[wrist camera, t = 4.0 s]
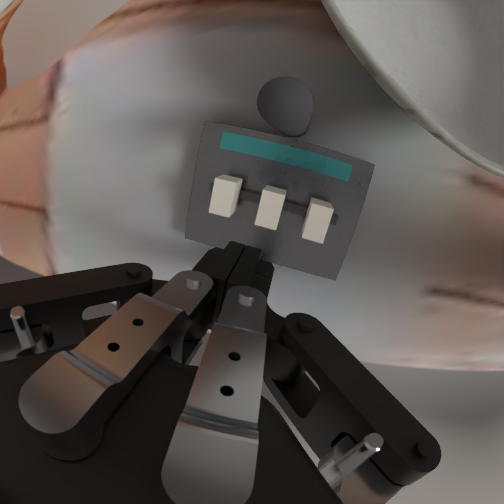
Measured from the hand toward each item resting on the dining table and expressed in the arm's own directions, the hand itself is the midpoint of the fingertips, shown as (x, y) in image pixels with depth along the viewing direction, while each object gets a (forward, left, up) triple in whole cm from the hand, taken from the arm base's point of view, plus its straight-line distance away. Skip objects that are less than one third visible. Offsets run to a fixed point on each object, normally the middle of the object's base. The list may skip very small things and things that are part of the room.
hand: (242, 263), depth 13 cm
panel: (0, 0, -16) cm, 16 cm away
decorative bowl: (-12, -22, -16) cm, 30 cm away
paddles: (0, 0, -13) cm, 13 cm away
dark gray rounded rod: (0, -8, -16) cm, 17 cm away
